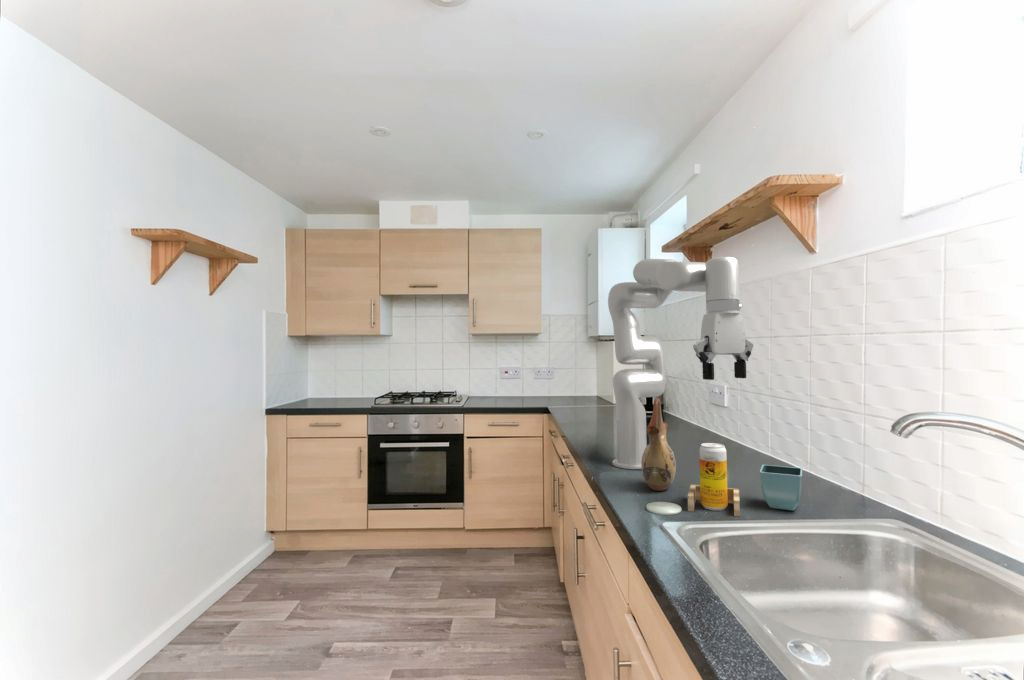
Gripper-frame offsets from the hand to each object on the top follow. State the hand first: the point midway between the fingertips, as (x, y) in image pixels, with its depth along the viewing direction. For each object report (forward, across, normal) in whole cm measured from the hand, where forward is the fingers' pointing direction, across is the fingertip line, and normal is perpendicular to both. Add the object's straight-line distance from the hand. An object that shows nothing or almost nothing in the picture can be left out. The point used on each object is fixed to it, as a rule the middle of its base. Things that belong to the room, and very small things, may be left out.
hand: (724, 378), depth 121 cm
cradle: (+31, +3, -1) cm, 31 cm away
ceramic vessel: (+31, +6, -19) cm, 37 cm away
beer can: (+31, +3, -1) cm, 31 cm away
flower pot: (+31, -12, +5) cm, 34 cm away
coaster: (+31, +15, -4) cm, 35 cm away
